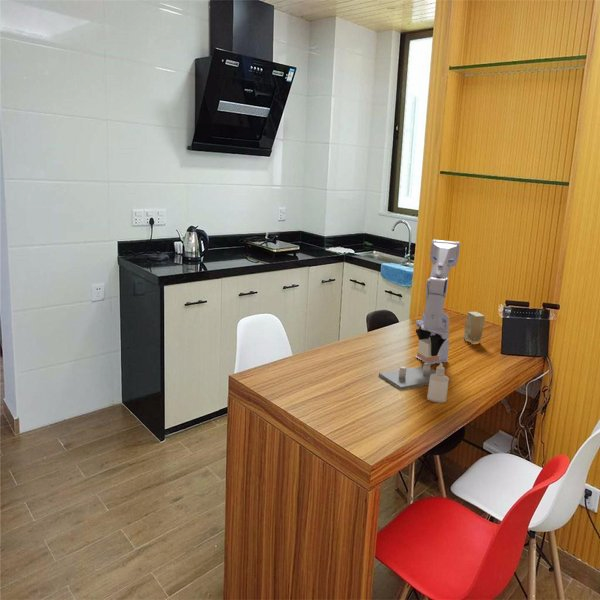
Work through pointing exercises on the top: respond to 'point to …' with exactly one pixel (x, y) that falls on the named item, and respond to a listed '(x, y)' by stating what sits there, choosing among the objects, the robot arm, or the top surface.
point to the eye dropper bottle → (438, 385)
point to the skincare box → (474, 327)
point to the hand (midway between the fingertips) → (428, 352)
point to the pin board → (409, 376)
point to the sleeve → (426, 350)
